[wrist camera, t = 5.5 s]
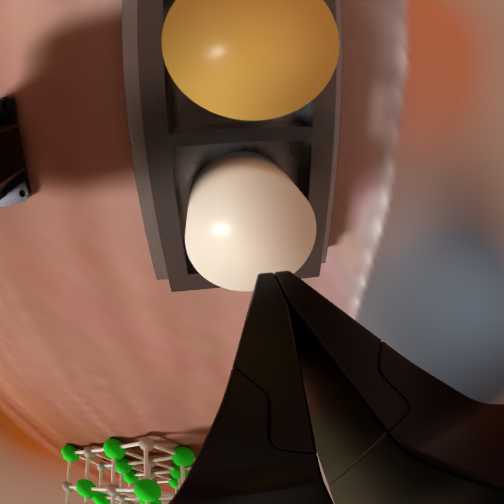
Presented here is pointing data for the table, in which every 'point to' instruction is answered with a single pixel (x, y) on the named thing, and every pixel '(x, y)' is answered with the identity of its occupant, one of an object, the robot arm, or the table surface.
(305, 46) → the amber button
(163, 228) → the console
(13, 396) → the table surface
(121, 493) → the molecular structure model
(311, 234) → the ivory button
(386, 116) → the table surface
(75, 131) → the table surface
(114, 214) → the table surface
